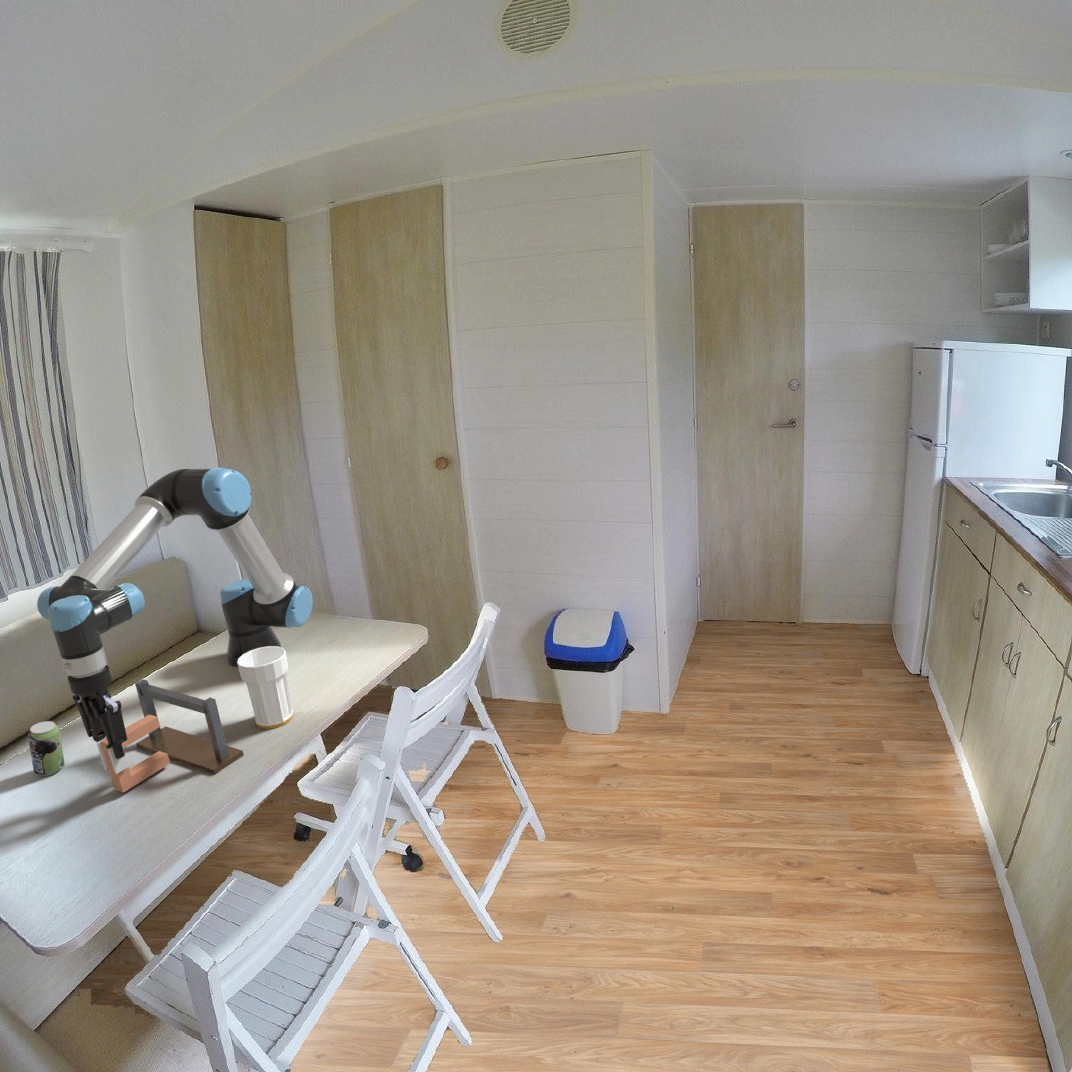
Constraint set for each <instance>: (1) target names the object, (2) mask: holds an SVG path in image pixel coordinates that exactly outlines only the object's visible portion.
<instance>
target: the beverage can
mask: <svg viewBox="0 0 1072 1072" xmlns="http://www.w3.org/2000/svg"><path fill="white" fill-rule="evenodd" d="M60 730H61V729H60V727H59V726H58V725H56V722H54V721H51V720H45V721H40V722H36V723H35V724H33V725H32V726H31V727H30V729H29V731H28V733H27V738H28V743H29V744H28V745H29V750H30V756H31V762H32V768H33V772H34V773H35V774H36V775H38V776H43V777H45V776H51V775H54V774H56V773H58V772H60V770H62V769H63V768H64V767H65V758H64V752H63V746H62V745H63V744H62V737H61V731H60Z"/></svg>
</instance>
